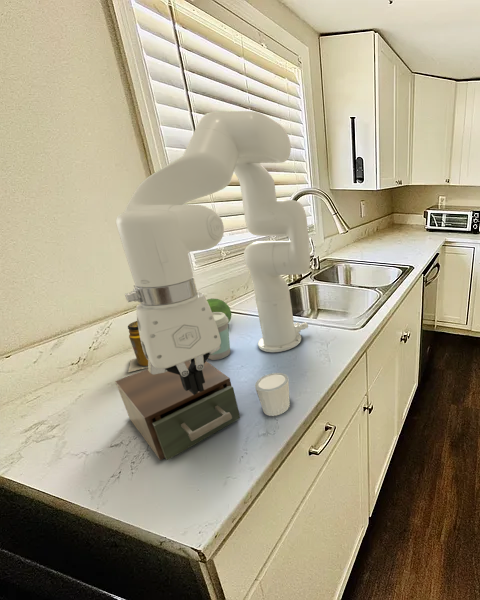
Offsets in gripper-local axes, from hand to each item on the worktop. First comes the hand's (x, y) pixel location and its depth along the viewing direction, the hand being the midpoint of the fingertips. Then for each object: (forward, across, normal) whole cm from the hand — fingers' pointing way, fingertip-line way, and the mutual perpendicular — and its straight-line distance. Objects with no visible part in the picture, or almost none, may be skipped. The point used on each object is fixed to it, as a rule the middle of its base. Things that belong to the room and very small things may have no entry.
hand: (195, 389), depth 57 cm
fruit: (+13, +26, +56) cm, 63 cm away
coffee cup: (+13, +17, +35) cm, 41 cm away
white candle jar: (+14, +14, +1) cm, 20 cm away
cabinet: (+13, 0, +14) cm, 19 cm away
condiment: (+13, +3, +47) cm, 49 cm away
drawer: (+13, 0, +8) cm, 15 cm away
